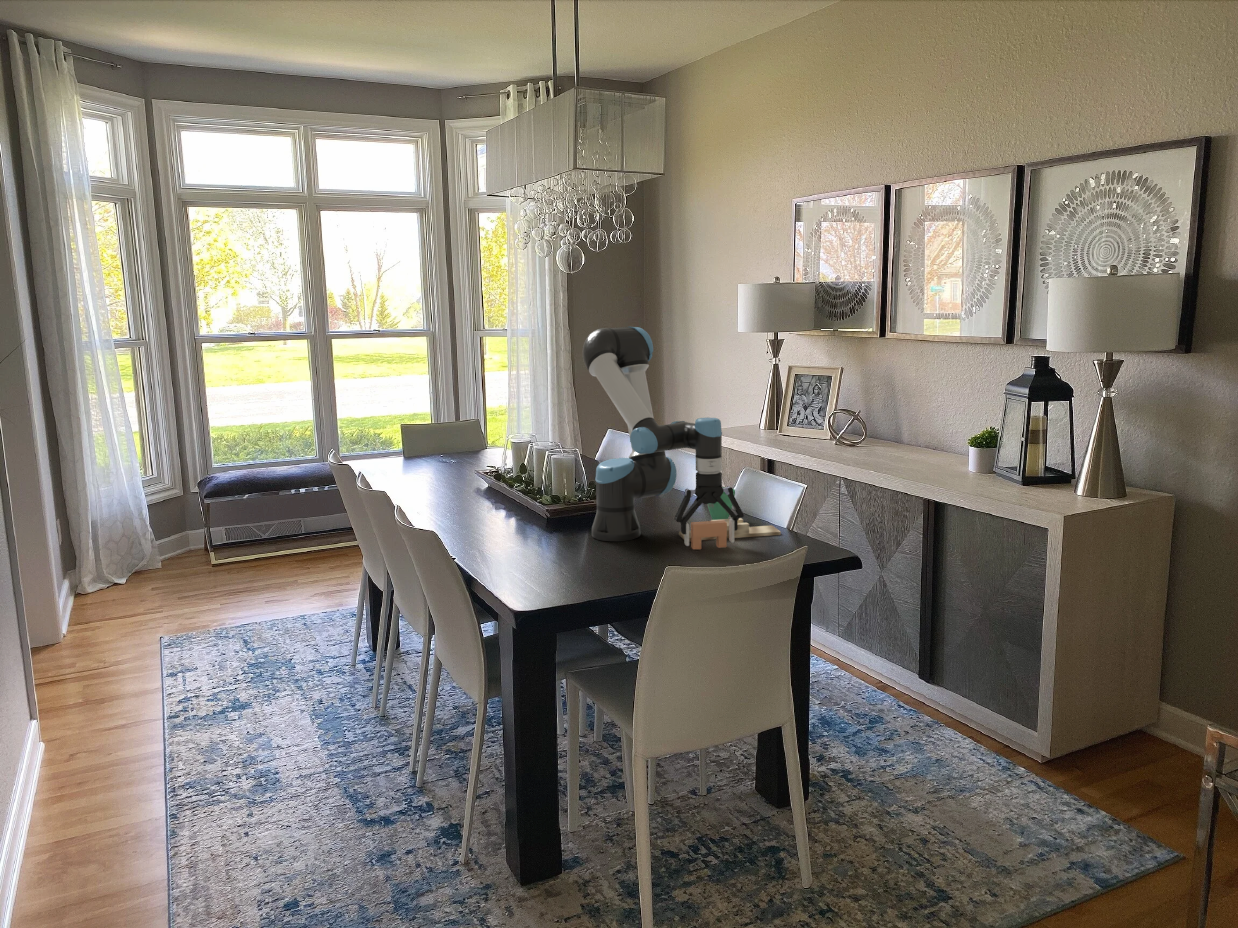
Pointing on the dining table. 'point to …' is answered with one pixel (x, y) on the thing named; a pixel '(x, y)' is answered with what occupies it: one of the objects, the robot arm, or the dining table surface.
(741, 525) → the rail
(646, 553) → the dining table surface
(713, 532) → the clip
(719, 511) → the green tapered cup
